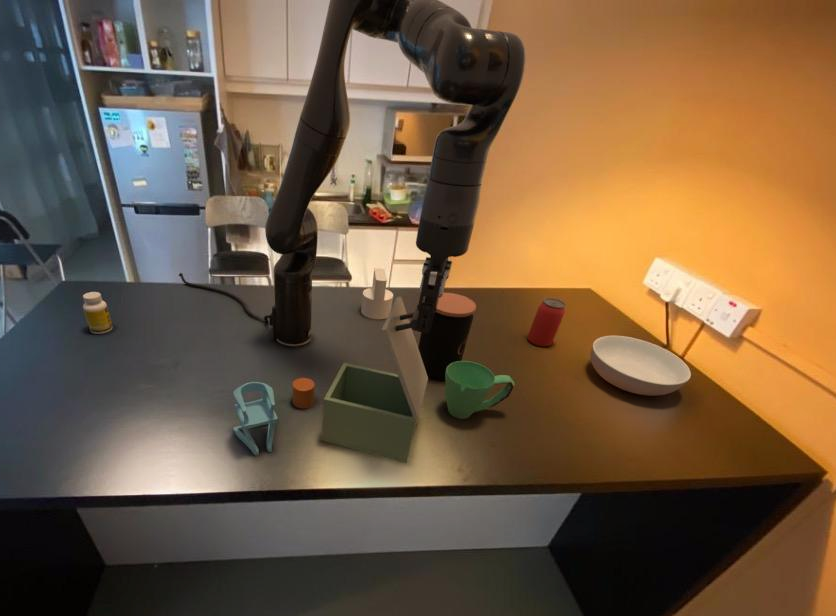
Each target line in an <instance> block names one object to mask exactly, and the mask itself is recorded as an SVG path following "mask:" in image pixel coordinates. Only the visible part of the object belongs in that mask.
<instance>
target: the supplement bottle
mask: <svg viewBox="0 0 836 616" xmlns="http://www.w3.org/2000/svg"><path fill="white" fill-rule="evenodd" d="M82 298H83V302H84V303H83V304H82V309H83V312H84V315H85V319H86V322H87V325H88V329H89V331H90V333H92V334H94V335H102V334H103V335H104V334H107V333H110V332H111V331H112V330H113V329H114V327H113V322H112V319H111V315H110V312H109V307H108V304H107V303H106V302H107V301H104V300H103V297H102V294H101V293H100V292H98V291H90V292H86V293H84V294H83V295H82Z"/></svg>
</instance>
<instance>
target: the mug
mask: <svg viewBox="0 0 836 616" xmlns="http://www.w3.org/2000/svg"><path fill="white" fill-rule="evenodd" d="M444 382H445V384H444V385H445V387H444V389H445V390H444V393H445V401H446V406H447V412H448V413H449V414H450V415H451V416H452V417H454V418H455V419H459V420H460V419H461V420H463V419H465V420H466V419H468V418H470V416H471V415H472V414H474V413H477V412H480V411H483V410H487V409H491V408H493V407H496V406H497V405H498V404H500V403H501V402H503V401H505V400H506V399H507V398H509V397H510V395H511V393H512V391H513V389H514V387H515V381H514V380H513V379H512V377H511V376H510V375H508V374H500V375H495V374H494V373H493V372H492V371H491V369H490V368H488V367H486V366H484V365H482V364H480V363H477V362H475V361H474V362H473V361H471V360H469V361H468V360H461V361H457V362H453V363H451V364H450V365H448V366H447V369H446V372H445V380H444ZM503 384H505V386H504V388H502V389H501V390H500V391H499V392H497V393H495V394H494V395H493V396H491V397H490V398H488V399H486V398H487V396H488V395H489V393H490V392H491V390H492V389H493V387H494V386H497V385H503Z"/></svg>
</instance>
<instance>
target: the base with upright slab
mask: <svg viewBox="0 0 836 616" xmlns="http://www.w3.org/2000/svg"><path fill="white" fill-rule="evenodd" d="M372 277H373V278H372V286H371V287H368V288H365V289H364V290H363V291H362V295H361V296H362V297H361V306H360V313H361V314H362V315H363V316H364V317H365V318H368V319H371V320H385V319H387V318H388V316H389V313H390V311H391V309H392V307H393V299H394V293H393V292H392V291H390V290H389V289H387V283H388V279H387V274H386V270H385V268H381V267H379V268H378V267H377V268H374V269H373V276H372Z"/></svg>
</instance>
